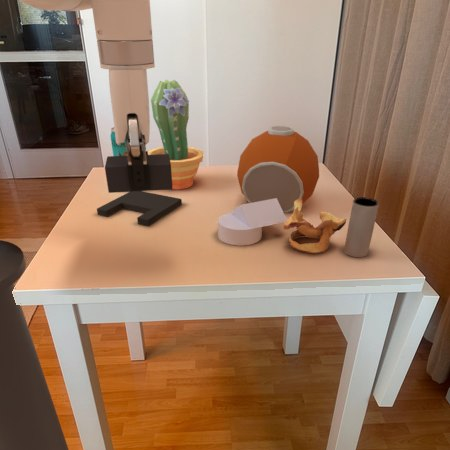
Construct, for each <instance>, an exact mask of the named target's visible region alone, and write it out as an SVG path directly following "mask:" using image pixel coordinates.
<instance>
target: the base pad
mask: <svg viewBox="0 0 450 450" xmlns="http://www.w3.org/2000/svg"><path fill="white" fill-rule="evenodd" d="M182 201H183V200H182V198H179V197H173V196H168V195H163V194H158V193H152V192H149V191H134V192H125V193H124V194H123V195H121V196H118V197H117V198H115V199H112V200H111V201H109V202H106V203H105V204H102V205H101V206H99V207H97V208H96V212H97V213H96V214H97V216H102V217H106V218H108V217H110V216H112V215H113V214H115V213H117V212H119V211H121V210H122V209H123V210H127V211H132V212H135V213H136V212H137V213H140V214H141V215H139V216H137V217H136V220H137V224H138V225H141V226H144V227H150V226H151V225H153V224H154V223H156V222H158V221H159V220H160V219H162V218H163V217H165V216H167V215H169V214H170V213H171V212H173V211H174V210H176V209H178V208H180V207H181V206H182V205H183V202H182Z"/></svg>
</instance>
